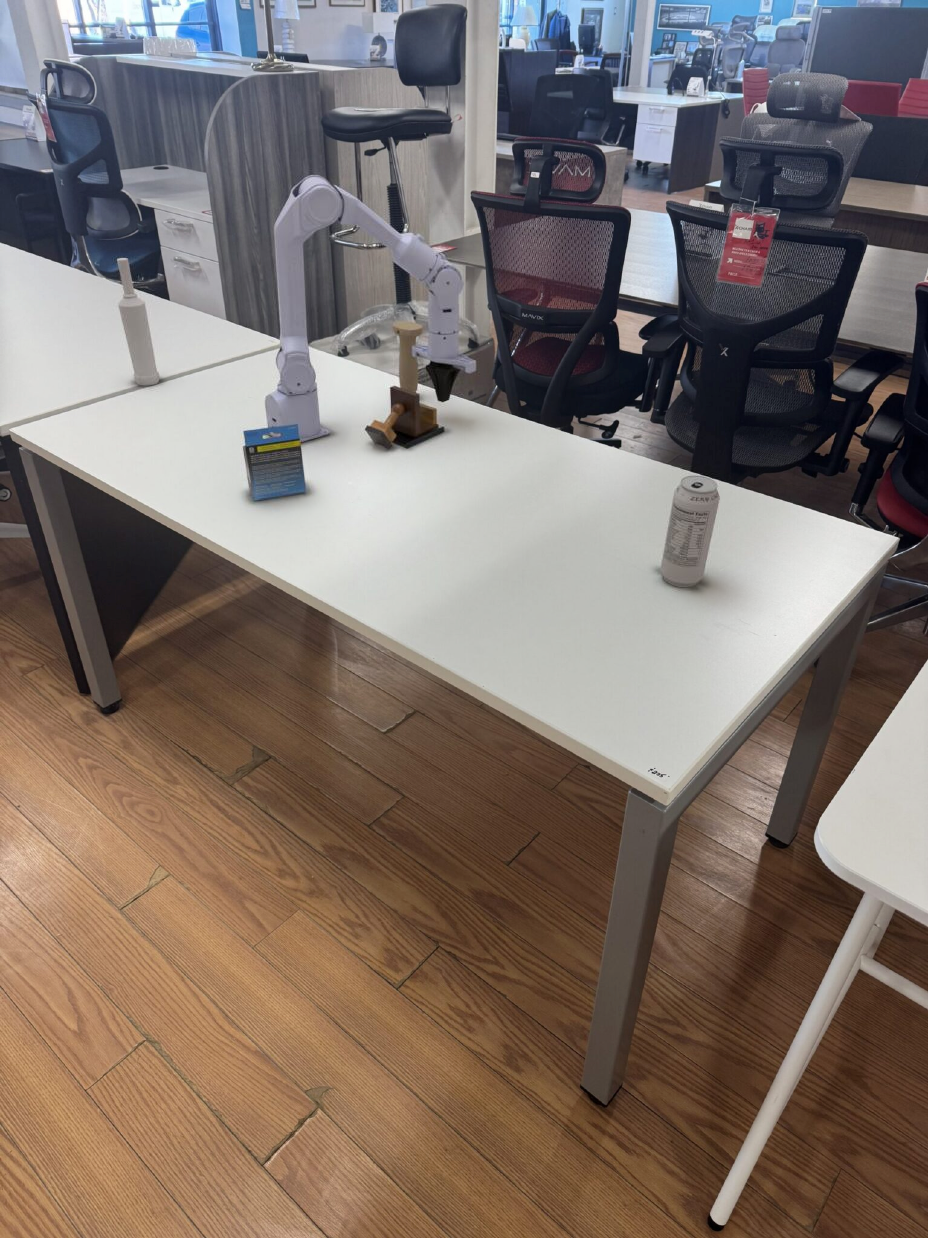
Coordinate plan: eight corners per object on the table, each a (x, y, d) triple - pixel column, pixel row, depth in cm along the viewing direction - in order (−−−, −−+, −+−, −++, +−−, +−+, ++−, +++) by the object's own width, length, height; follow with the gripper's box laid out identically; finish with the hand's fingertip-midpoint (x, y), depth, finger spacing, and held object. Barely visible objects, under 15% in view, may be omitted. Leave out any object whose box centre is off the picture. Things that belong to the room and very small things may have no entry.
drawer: (415, 418, 166) (414, 377, 161) (439, 427, 163) (439, 385, 158) (391, 428, 162) (389, 387, 157) (415, 437, 158) (415, 395, 154)
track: (414, 420, 167) (413, 415, 167) (444, 431, 163) (444, 426, 162) (376, 436, 161) (376, 431, 160) (407, 448, 156) (407, 443, 156)
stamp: (395, 434, 162) (394, 399, 158) (411, 440, 159) (410, 404, 155) (365, 447, 156) (363, 411, 152) (380, 453, 154) (379, 416, 150)
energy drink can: (709, 577, 122) (730, 483, 113) (688, 594, 118) (708, 498, 109) (673, 562, 125) (690, 469, 116) (651, 578, 121) (667, 483, 113)
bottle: (156, 386, 180) (130, 262, 166) (131, 385, 180) (104, 261, 166) (163, 377, 185) (139, 256, 170) (139, 377, 185) (114, 255, 170)
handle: (410, 405, 174) (408, 331, 165) (390, 396, 177) (387, 324, 169) (428, 399, 176) (427, 326, 168) (407, 391, 180) (405, 319, 171)
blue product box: (301, 483, 144) (294, 414, 137) (306, 493, 141) (299, 423, 134) (249, 491, 141) (238, 421, 134) (253, 501, 138) (242, 430, 131)
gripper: (487, 333, 156) (485, 403, 164) (429, 317, 164) (429, 385, 172) (462, 341, 152) (461, 414, 160) (403, 325, 159) (405, 395, 167)
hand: (443, 400), depth 165 cm, fingers closed
